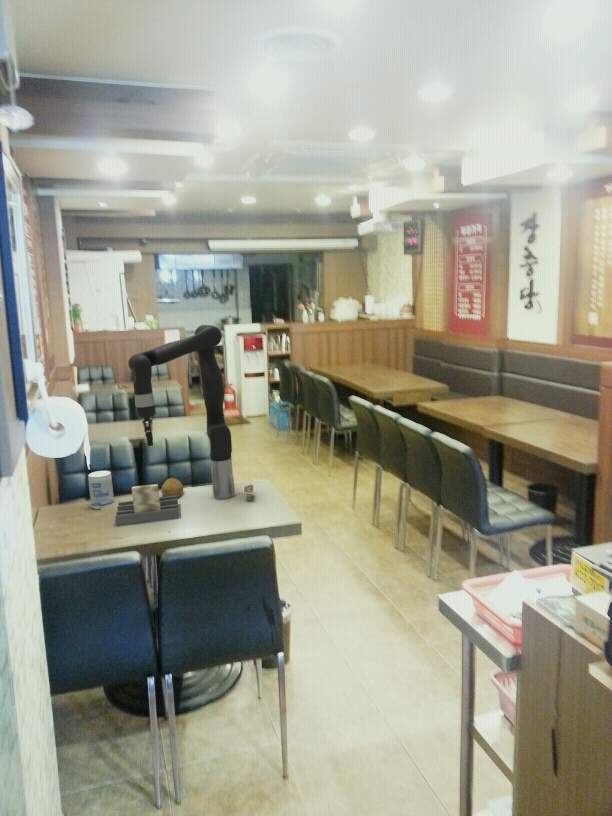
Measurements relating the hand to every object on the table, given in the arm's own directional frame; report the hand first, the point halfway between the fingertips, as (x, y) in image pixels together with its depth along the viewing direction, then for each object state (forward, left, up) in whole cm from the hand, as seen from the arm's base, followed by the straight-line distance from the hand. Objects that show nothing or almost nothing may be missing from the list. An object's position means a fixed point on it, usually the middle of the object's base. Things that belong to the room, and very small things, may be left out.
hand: (150, 443), depth 254 cm
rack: (+3, +5, -30) cm, 31 cm away
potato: (-7, -16, -30) cm, 35 cm away
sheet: (+3, +11, -29) cm, 31 cm away
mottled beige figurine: (-39, -4, -31) cm, 50 cm away
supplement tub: (+23, -17, -30) cm, 42 cm away
